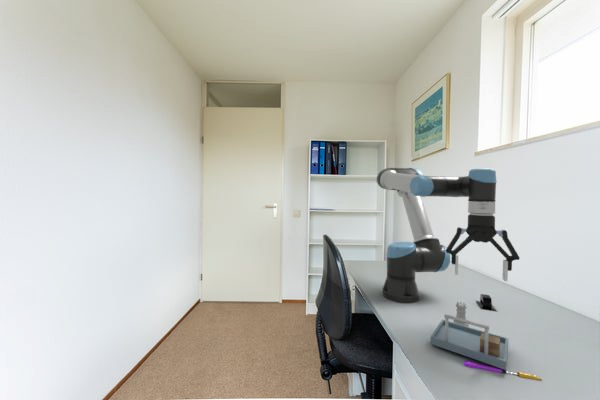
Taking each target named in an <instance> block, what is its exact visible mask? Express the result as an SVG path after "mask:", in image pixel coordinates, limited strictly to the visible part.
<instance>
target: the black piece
mask: <svg viewBox="0 0 600 400" xmlns="http://www.w3.org/2000/svg"><path fill="white" fill-rule="evenodd" d="M479 297H480V298H479V300H475V301H476V302H475V303H476V305H477V307H479V308H480V310H482V311H490V312H496V313H497V312H499V311H498V310H497V309H496V308H495V307H494V305H493V303H492V302H493V301H492V297H491V296H490V295H489V294H482V293H480V295H479Z"/></svg>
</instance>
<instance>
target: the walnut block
mask: <svg viewBox="0 0 600 400" xmlns="http://www.w3.org/2000/svg"><path fill="white" fill-rule="evenodd" d="M484 339H485V334H484V333H482V334H481V337H480V352H482V353H484ZM488 355H491V356H494V357H497V358H499V356H500V338H498V337H495V336H491V335H488Z"/></svg>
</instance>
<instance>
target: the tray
mask: <svg viewBox="0 0 600 400" xmlns="http://www.w3.org/2000/svg"><path fill="white" fill-rule="evenodd" d="M444 318H445V319H441V320H440V322H438V324H437V327H436V328H435V329H434V331H433V332H432V333H431V335H430V345H433V346H437V347H438V348H440V349H441V348H442V349H444V350H447V351H450V352H454V353H455V354H459V355H461V356H465V357H467V358H471V359H472V360H473V359H474V360H476V361H479V362H482V363H484V364H487V365H490V366H492V367H494V368H499V369H502V370H505V371H507V364H508V350H509V338H508V337H505V336H501V335H498V334H494V333H492V332H489V330H490V326H489V325H486V324H482V323H479V322H475V321H471V320H467V319H466V320H464V319H461V318H457V317H456V316H453V315H449V314H446V313H445V314H444ZM449 319H450V320H453V322H452V321H450V320H449ZM454 320H456V321H460V322H464V323H467V324H468V325H471V326H474V327H479V328H481V329H484V330H480V329H477V328H473V327H470V326H468V327H467V326H463V325H460V324H456V323H454ZM482 333H484V334H485V339H484V353H482V352H480V337H481V334H482ZM488 335H491V336H495V337H498V338H500V356H499V358H497V357H494V356H491V355H488Z"/></svg>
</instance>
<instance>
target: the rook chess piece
mask: <svg viewBox="0 0 600 400" xmlns="http://www.w3.org/2000/svg"><path fill="white" fill-rule="evenodd" d="M455 307H456V314H455V315H456V316H455V317H457V318H461V319H464V320H467V317H466V313H467V311H466V309H468V306H467V304H466V303H464V302H462V301H461V302H459V301H457V302H456V304H455ZM453 323H456V324H460V325H463V326H467V327H469V324H467V323H464V322H460V321H456V320H453Z"/></svg>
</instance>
